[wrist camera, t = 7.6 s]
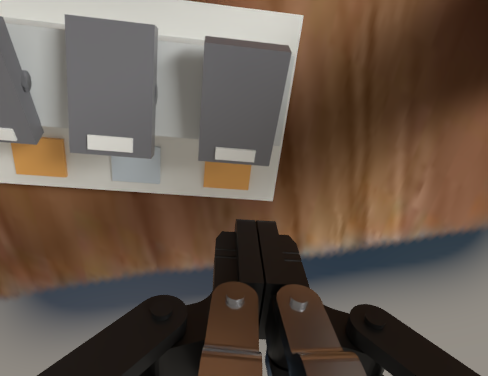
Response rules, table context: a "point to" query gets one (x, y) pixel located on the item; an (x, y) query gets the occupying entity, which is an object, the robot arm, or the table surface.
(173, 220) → the table surface
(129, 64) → the rocker middle
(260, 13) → the switch unit
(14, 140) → the block
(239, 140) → the rocker
